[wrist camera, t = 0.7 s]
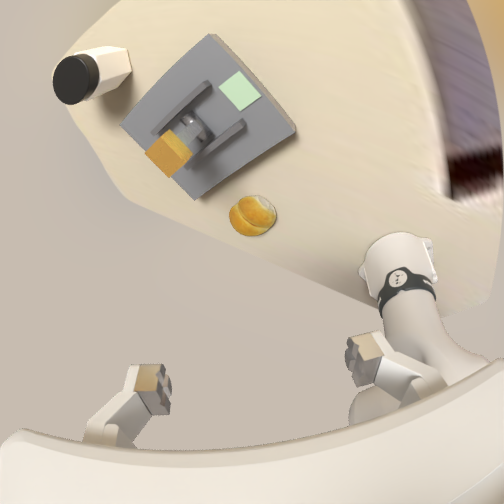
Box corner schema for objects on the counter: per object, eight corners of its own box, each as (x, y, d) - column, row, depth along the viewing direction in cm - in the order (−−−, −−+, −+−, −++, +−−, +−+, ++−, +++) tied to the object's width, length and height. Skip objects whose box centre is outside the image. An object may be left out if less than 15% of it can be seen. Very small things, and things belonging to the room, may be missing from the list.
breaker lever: (216, 129, 41) (187, 164, 31) (202, 141, 42) (170, 179, 33) (195, 106, 38) (158, 135, 29) (181, 119, 40) (142, 151, 30)
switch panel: (295, 124, 42) (294, 137, 37) (200, 189, 53) (190, 208, 49) (216, 34, 33) (203, 33, 28) (130, 117, 44) (111, 129, 39)
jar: (91, 53, 35) (47, 66, 26) (125, 38, 33) (82, 45, 25) (101, 93, 41) (60, 114, 32) (135, 81, 39) (95, 98, 31)
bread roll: (223, 213, 57) (219, 225, 54) (252, 186, 52) (249, 197, 49) (254, 237, 60) (251, 249, 57) (284, 213, 55) (282, 225, 52)
